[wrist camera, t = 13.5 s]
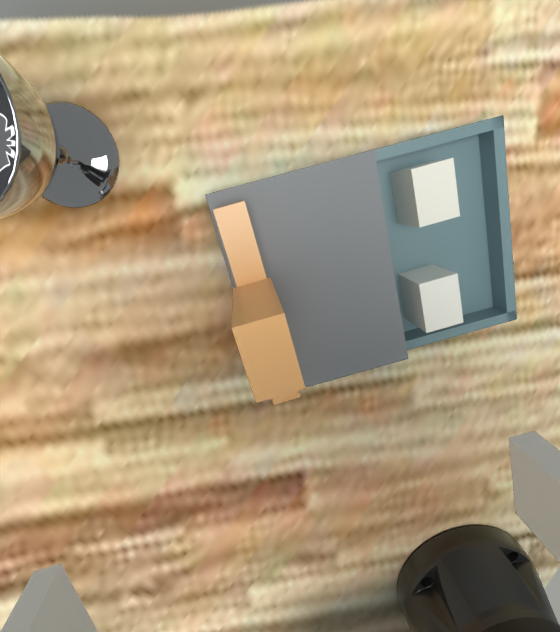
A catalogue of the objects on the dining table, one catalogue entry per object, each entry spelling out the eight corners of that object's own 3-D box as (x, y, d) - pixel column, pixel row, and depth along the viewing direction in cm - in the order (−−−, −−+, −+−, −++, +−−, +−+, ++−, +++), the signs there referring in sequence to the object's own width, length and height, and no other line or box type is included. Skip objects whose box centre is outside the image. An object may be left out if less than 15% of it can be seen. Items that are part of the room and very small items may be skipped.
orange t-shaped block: (297, 377, 31) (328, 469, 21) (267, 386, 31) (282, 483, 21) (247, 199, 27) (253, 202, 16) (211, 208, 27) (195, 219, 16)
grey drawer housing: (390, 341, 36) (408, 358, 32) (263, 376, 35) (266, 398, 32) (357, 155, 31) (373, 149, 27) (209, 194, 30) (205, 194, 27)
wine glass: (-16, 155, 28) (-276, 116, 14) (55, 68, 27) (-150, -73, 13) (79, 235, 30) (-62, 273, 16) (147, 157, 29) (62, 123, 15)
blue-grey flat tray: (498, 310, 36) (516, 319, 33) (392, 340, 36) (403, 350, 33) (482, 121, 31) (503, 115, 28) (359, 154, 31) (369, 150, 28)
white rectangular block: (398, 223, 32) (433, 213, 32) (419, 227, 28) (460, 216, 28) (389, 172, 31) (426, 161, 31) (411, 169, 27) (453, 157, 27)
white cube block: (405, 317, 34) (438, 308, 34) (426, 332, 31) (463, 322, 31) (398, 273, 33) (432, 264, 33) (418, 284, 29) (457, 273, 29)
